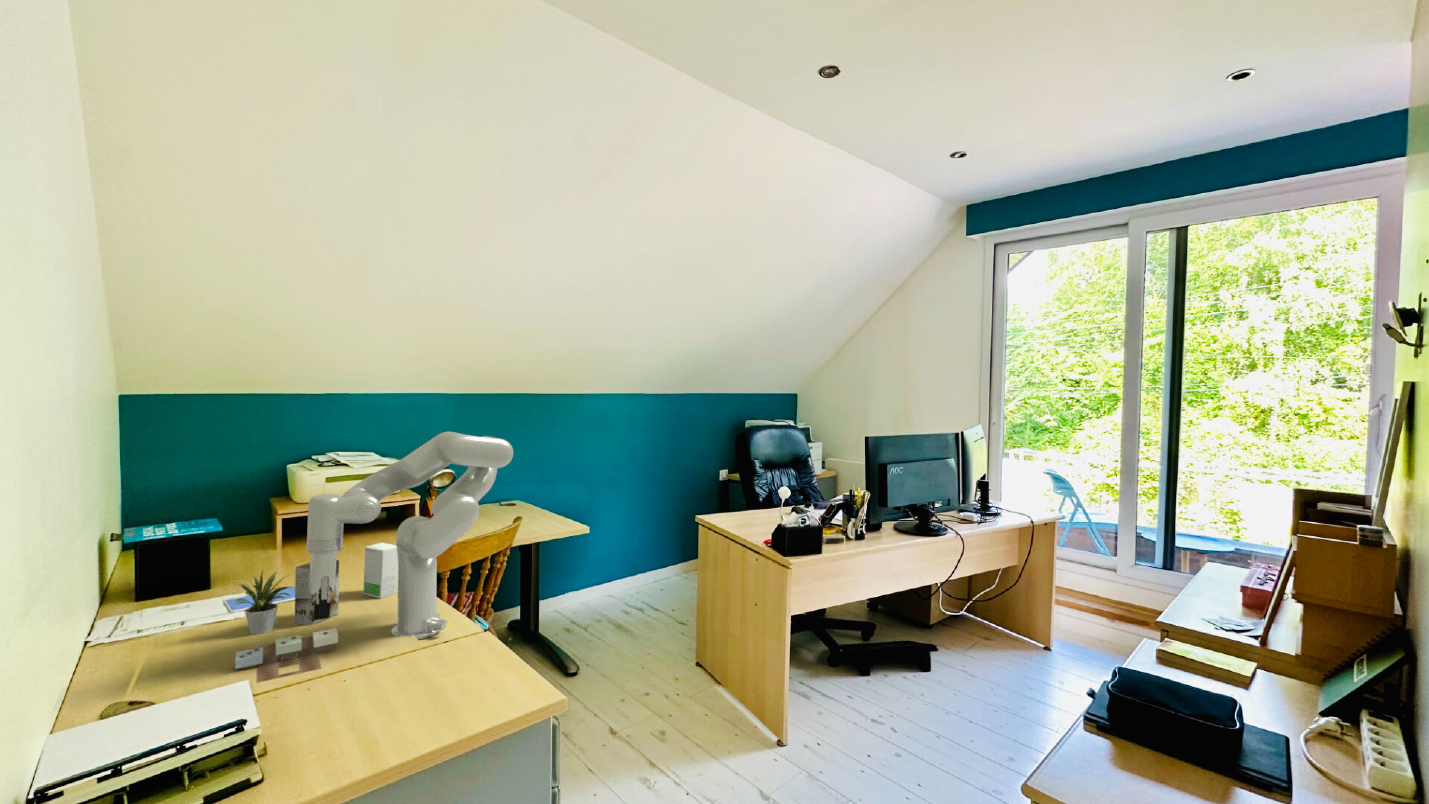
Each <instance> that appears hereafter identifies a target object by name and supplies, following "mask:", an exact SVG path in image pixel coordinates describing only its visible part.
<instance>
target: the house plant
mask: <svg viewBox="0 0 1429 804" xmlns="http://www.w3.org/2000/svg"><path fill="white" fill-rule="evenodd" d="M277 573H278V570H276V571H275V572H273V573H272V574H271V575H270V576H269V577H268V579H267V581H266V582H265V583H264V582H263V580H264V578H263V577H264V576H263V575H264V570H262V571H261V574H260V575H259V576H260V577H259V579H258V577H256V576H253V579H254V583H255V584H253V582H252V581H251V580H250V579H248V578H244V577H243V578H242V579H245V580H247V581H249V582H250V583H251V584H252V587H253V588H254V591H255V592H254V591H253V589H251V587H250V586H249V585H248V584H246V583H245V582H244V581H242V580H239V582H238V581H237V582H236V583H237V584H236V583H234V585H236V586H239V587H241V588H243V589H244V590H245V594H247V596H251V597H252V598H253V602H254V604H255V605H254V604H253V603H251V602H249V601H248V602H246V603H251V604H252V605H253V606H252V607H249V608H247V609H246V610H245V616H246V621H247V624H248V625H247V626H248V631H249V634H250V635H261V634H266V633H269V632H272V631H273V630H274V628H275V624H276V623H275V622H276V618H277V617H276V616H277V612H278V607H279V605H278V604H274V603H272V602H273V601H274V600H275V599H276V598H284V596H277V595H281V594H284V595H289V594H288V593H280V594H277V593H278V592H280V591H281V590H284V589H287V588H292V587H293V586H278V585H279V584H280V583H281V582H282V580H284V579H286V578H287V577H289V576H290V575H289V574H288V575H285V576H284V577H282V578H281V579H279V580H278V582H275V583H274V581H275V579H276V575H277ZM263 583H264V586H263ZM224 585H226V586H227V585H228V583H225V584H224ZM277 586H278V587H277ZM256 594H257V596H256ZM276 594H277V595H276ZM275 595H276V596H277V597H276V596H275ZM289 596H290V595H289ZM273 599H274V600H273ZM284 599H285V598H284ZM272 600H273V601H272ZM240 601H247V600H245V599H237V600H236V601H235V602H240ZM270 601H271V602H270ZM235 602H234V603H235ZM240 603H245V602H240ZM240 603H238V604H240ZM236 605H237V604H236Z"/></svg>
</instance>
